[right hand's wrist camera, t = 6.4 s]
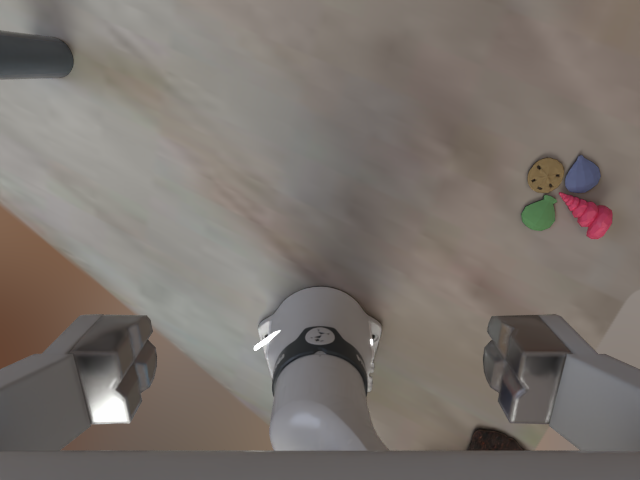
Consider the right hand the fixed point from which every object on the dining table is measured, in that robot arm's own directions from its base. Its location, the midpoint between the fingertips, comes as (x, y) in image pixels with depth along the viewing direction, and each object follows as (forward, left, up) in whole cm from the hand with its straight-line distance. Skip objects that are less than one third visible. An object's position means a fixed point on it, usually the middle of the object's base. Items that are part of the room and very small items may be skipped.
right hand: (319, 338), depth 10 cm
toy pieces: (-10, -33, -48) cm, 59 cm away
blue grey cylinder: (+8, +32, -48) cm, 58 cm away
